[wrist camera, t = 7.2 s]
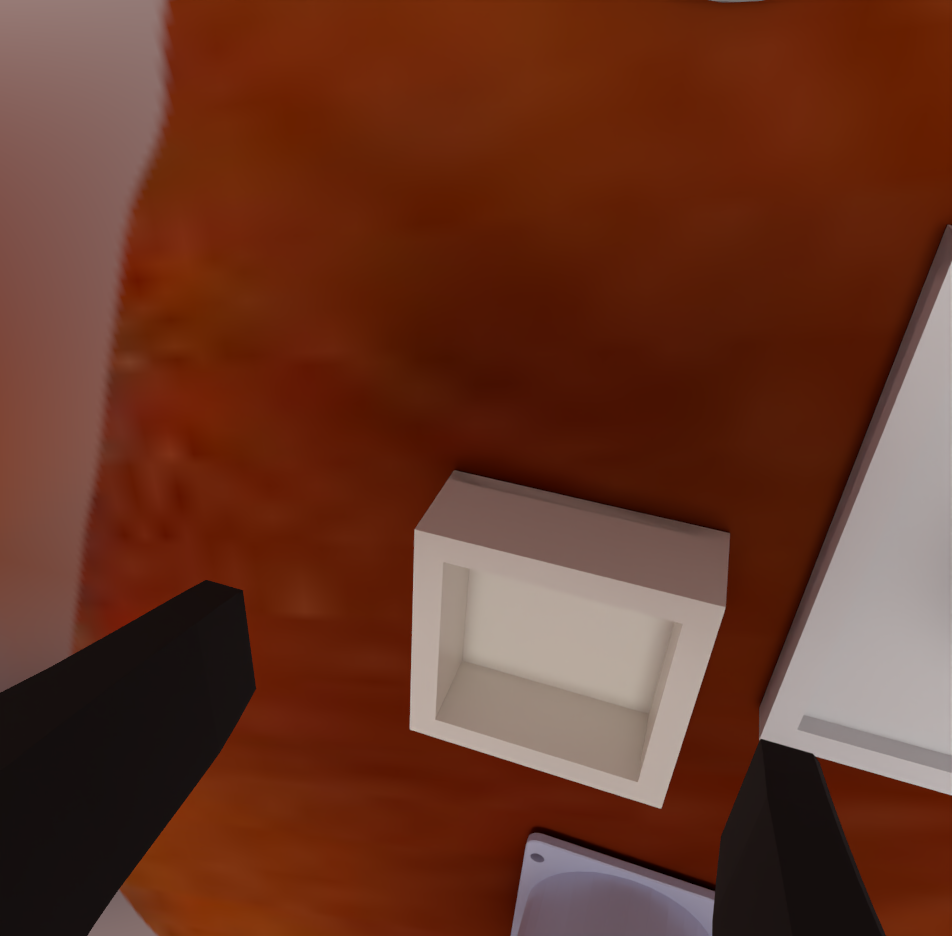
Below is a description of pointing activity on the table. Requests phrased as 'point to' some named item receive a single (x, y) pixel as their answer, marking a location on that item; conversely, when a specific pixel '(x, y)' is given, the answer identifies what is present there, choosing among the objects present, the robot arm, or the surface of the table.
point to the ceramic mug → (734, 0)
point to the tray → (884, 581)
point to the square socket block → (562, 631)
